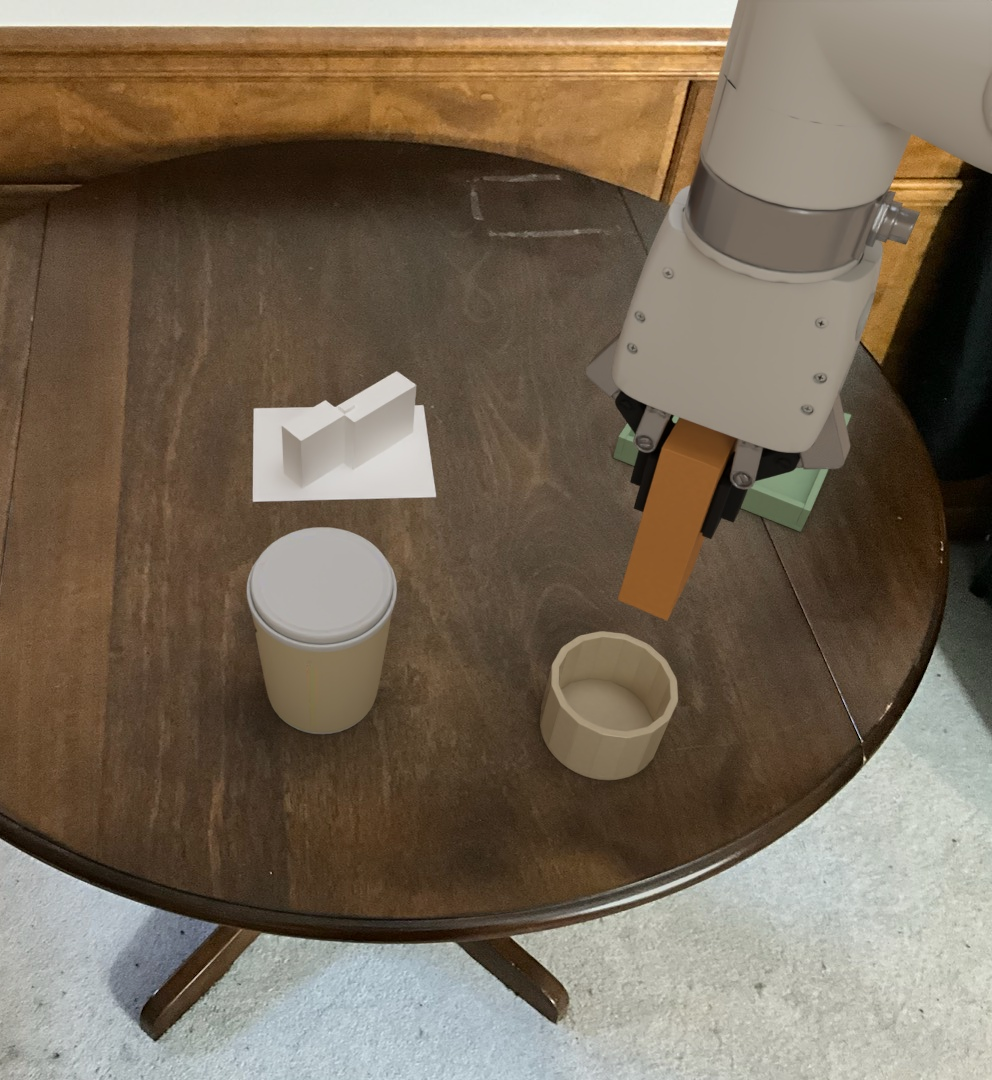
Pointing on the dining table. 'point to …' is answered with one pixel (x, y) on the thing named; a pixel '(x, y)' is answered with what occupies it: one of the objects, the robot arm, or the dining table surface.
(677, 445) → the orange rectangular bar
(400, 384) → the napkin holder
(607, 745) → the cup
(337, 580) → the coffee cup
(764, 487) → the tray
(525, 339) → the dining table surface
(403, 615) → the dining table surface
